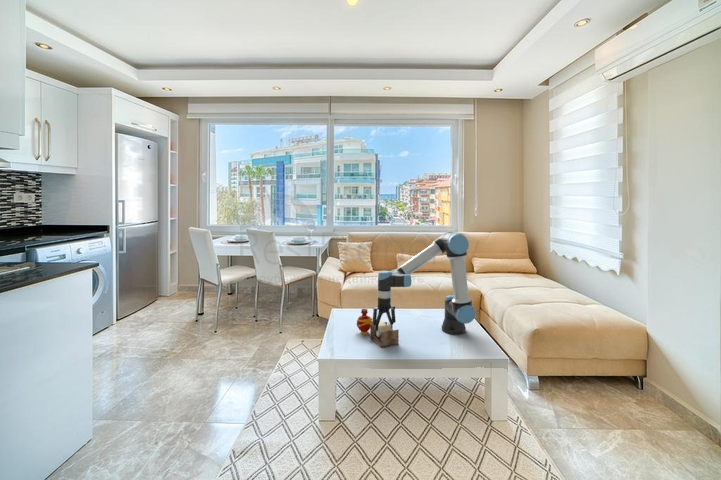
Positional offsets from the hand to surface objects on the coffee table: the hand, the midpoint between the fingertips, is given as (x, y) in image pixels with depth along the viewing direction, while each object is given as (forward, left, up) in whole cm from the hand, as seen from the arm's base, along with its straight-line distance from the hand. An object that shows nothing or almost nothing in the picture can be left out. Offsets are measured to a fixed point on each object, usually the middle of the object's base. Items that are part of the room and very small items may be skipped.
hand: (383, 335), depth 205 cm
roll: (0, 0, 0) cm, 0 cm away
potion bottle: (+5, -18, -4) cm, 19 cm away
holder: (0, 0, -4) cm, 4 cm away
